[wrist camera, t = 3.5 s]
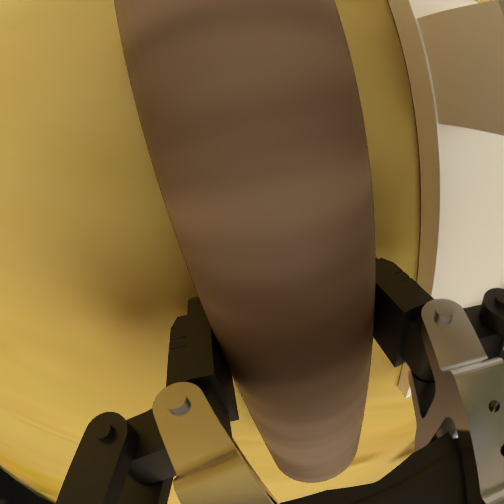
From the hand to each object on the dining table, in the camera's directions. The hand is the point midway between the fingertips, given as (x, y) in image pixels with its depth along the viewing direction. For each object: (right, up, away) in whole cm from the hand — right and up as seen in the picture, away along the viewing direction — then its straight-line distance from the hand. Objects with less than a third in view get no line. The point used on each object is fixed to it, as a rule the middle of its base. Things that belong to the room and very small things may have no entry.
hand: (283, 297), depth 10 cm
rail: (0, 0, +1) cm, 1 cm away
